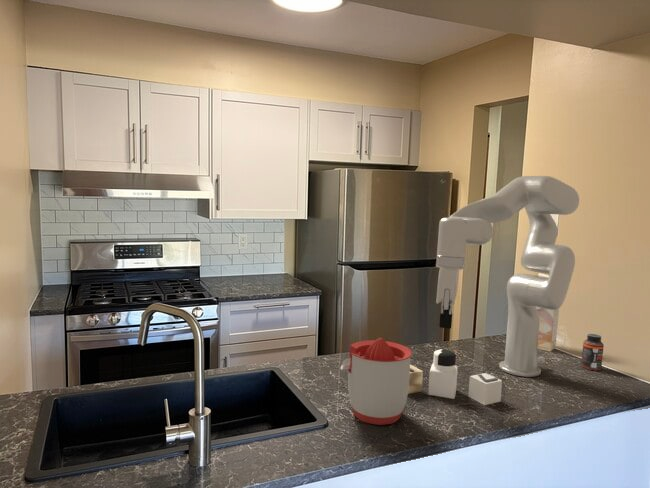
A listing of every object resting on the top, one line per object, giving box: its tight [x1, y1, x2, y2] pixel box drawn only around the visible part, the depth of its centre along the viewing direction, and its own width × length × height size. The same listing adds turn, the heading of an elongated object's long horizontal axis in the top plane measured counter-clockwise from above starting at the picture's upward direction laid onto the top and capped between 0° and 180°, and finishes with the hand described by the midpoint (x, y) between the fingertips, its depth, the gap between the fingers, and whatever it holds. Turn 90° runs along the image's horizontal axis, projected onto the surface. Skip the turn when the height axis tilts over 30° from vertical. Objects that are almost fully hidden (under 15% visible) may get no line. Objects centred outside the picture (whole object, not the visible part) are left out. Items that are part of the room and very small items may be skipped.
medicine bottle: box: [427, 348, 459, 400], centre depth 134 cm, size 7×7×12 cm
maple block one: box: [408, 364, 424, 395], centre depth 136 cm, size 6×6×6 cm
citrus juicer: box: [340, 337, 413, 426], centre depth 118 cm, size 16×17×20 cm
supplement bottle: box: [581, 333, 605, 372], centre depth 159 cm, size 6×6×11 cm
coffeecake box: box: [535, 306, 560, 353], centre depth 181 cm, size 15×7×20 cm, turn 50°
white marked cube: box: [468, 372, 503, 406], centre depth 131 cm, size 6×6×6 cm
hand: (445, 327), depth 133 cm, fingers closed
